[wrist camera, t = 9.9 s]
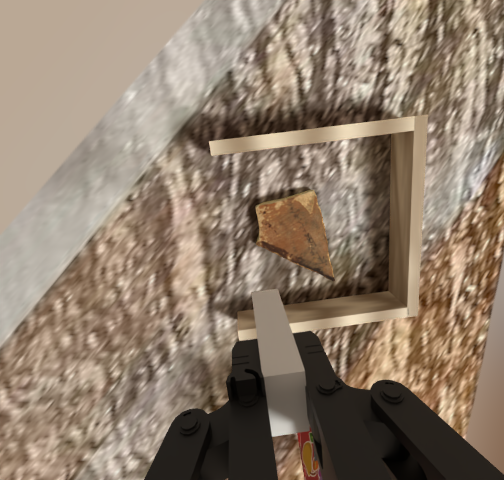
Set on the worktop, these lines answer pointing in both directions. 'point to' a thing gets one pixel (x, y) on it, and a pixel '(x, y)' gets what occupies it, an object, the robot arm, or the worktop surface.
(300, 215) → the shard
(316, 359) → the robot arm
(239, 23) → the worktop surface
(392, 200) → the box
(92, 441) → the worktop surface
